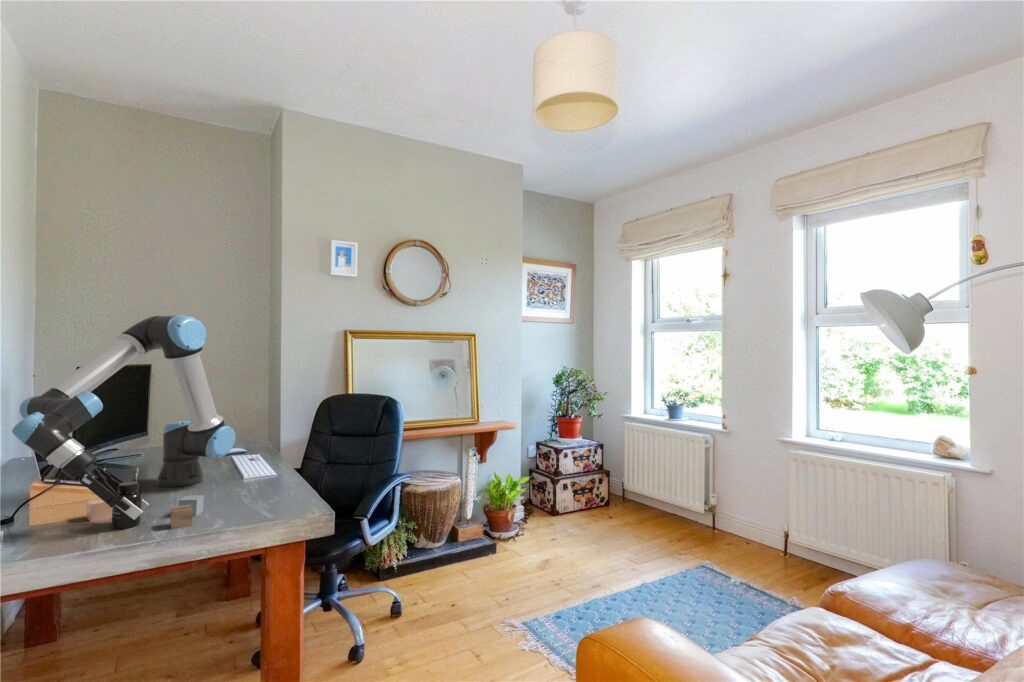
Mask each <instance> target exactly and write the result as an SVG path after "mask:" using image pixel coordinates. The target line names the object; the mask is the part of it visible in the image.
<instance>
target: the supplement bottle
mask: <svg viewBox="0 0 1024 682" xmlns="http://www.w3.org/2000/svg"><path fill="white" fill-rule="evenodd" d="M139 485H140V483H139V481H124V482H123V483H120V484H118V490H117V491H118V494H119V495H120V496H121V497H122V498H123V497H125V498H126V499H128V500H129V501H130V502H131V503H133V504H134V505H135V506H137V507H138V508H139V509H141V510H142V499H143V493H142V492H141V491H140V490H139V489H140V486H139ZM141 523H142V514H140V515H139V516H138V517H137V518H136V519H135V520H134V519H132V518H131V517H130V516H128V515H127V514H126V513H124V512H123V511H122V510H120V509H119V508H118V507H116V506H115V505H114V506H113V507H112V518H111V526H110V527H111V528H112V529H115V530H124V529H131V528H135V527H137V526H139V525H140V524H141Z"/></svg>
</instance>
